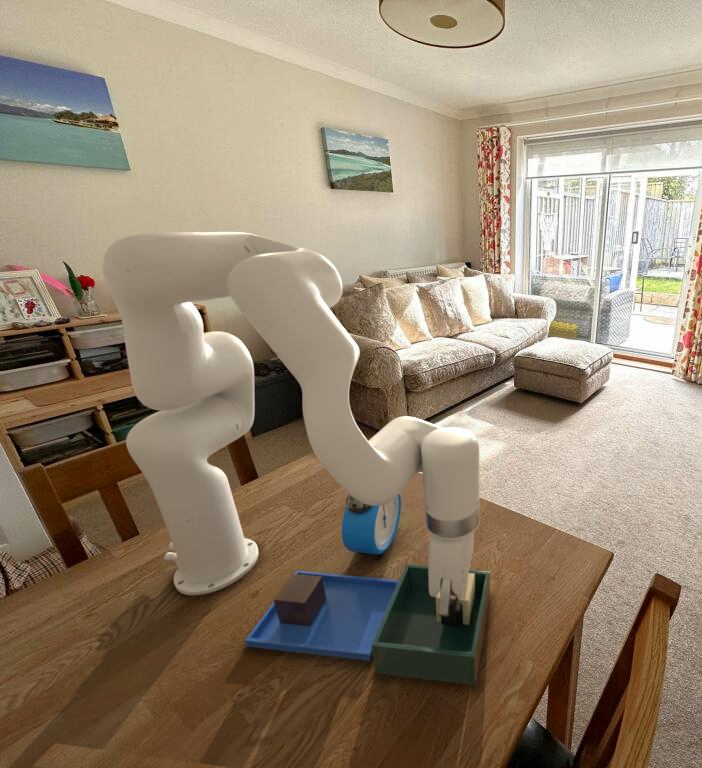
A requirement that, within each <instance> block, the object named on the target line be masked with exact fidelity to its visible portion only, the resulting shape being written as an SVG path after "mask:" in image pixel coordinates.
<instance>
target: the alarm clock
mask: <svg viewBox="0 0 702 768" xmlns="http://www.w3.org/2000/svg"><path fill="white" fill-rule="evenodd" d="M401 514H402V494H401V493H400V494H399V495H398V496H397V497H396V498H395V499H394V500H392V501H391V502H389V503H387V504H384V505H381V506H371V505H367V504H364V503H361V502H360V501H358V500H356V499H355V498H353V497H352V496H351V495H350V494H348V495H347V497H346V501H345V508H344V511H343V516H342V521H341V538H342V544H343V545H344V547H345V549H346V550H348V551H349V552H354V553H361V554H368V555H376V556H377V557H380V556H381V555H382V554H384V553H385V552H387V550H388V549H389V548H390V546H391V545H392V543H393V541H394V539H395V537H396V534H397V531H398V527H399V524H400V519H401Z"/></svg>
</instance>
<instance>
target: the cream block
mask: <svg viewBox="0 0 702 768" xmlns="http://www.w3.org/2000/svg"><path fill="white" fill-rule="evenodd" d="M440 592H441V589H440V591H439V593H438V595H437V597H436V613H437V621H438V622H441V616H439V605H440ZM455 598H456V596H454V595H451V599H450V601H455ZM474 600H475V574H472V573H468V577H467V581H466V585H465V589H464V592H463V595H462V597H461V599H460V604H462V605H463V624H466V625H469V624H470V619H471V614H472V609H473V604H474Z"/></svg>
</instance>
